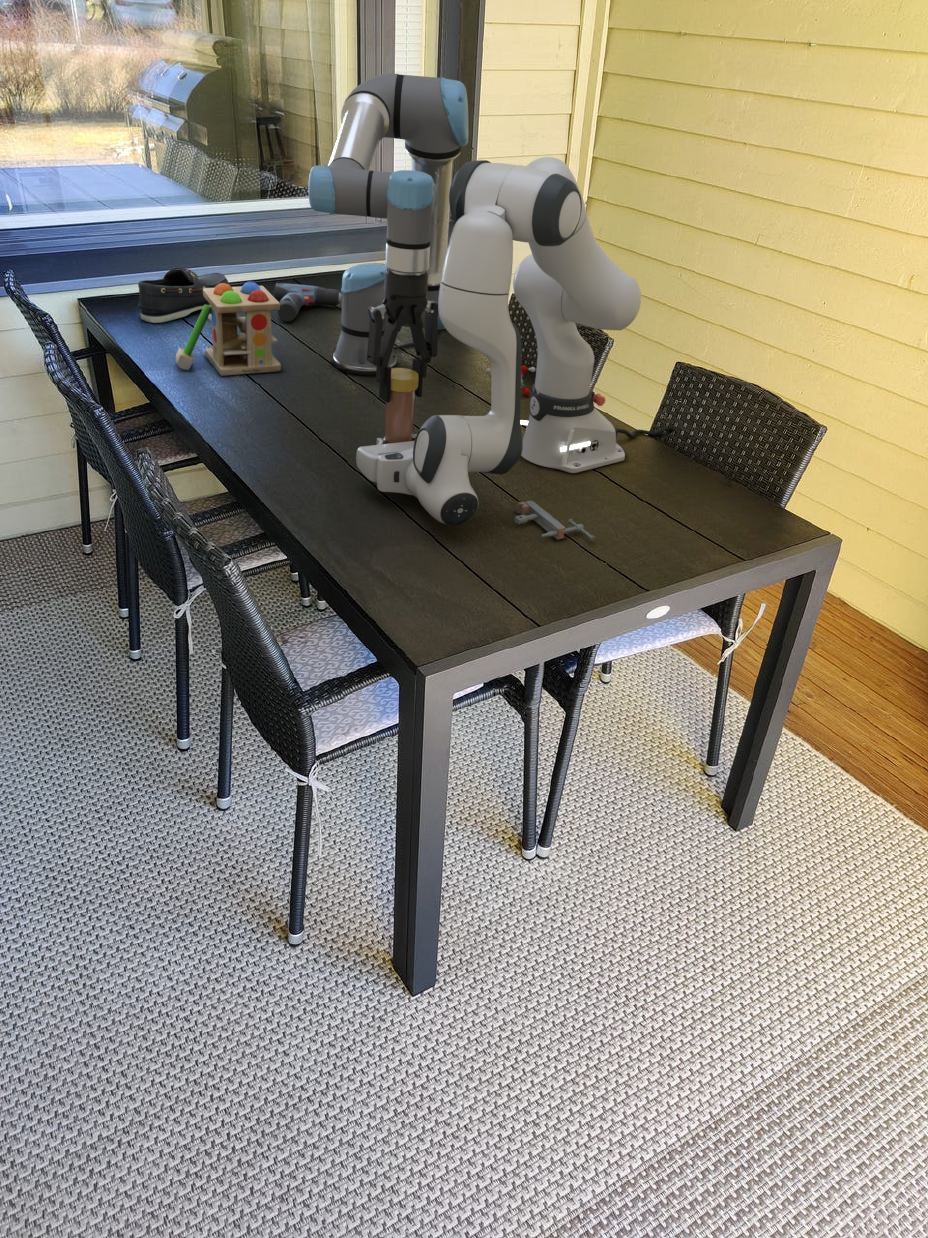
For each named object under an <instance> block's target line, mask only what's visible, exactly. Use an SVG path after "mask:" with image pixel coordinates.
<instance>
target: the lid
mask: <svg viewBox="0 0 928 1238" xmlns="http://www.w3.org/2000/svg"><path fill="white" fill-rule="evenodd" d="M418 382H419V377H418V373H417V372H416V371H414V370H412V368H411V369H410V368H406V367H396V368H392V369H391V388H390V390H392V391H397V392H410V391H414V390H416V389H417V388H418Z"/></svg>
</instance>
